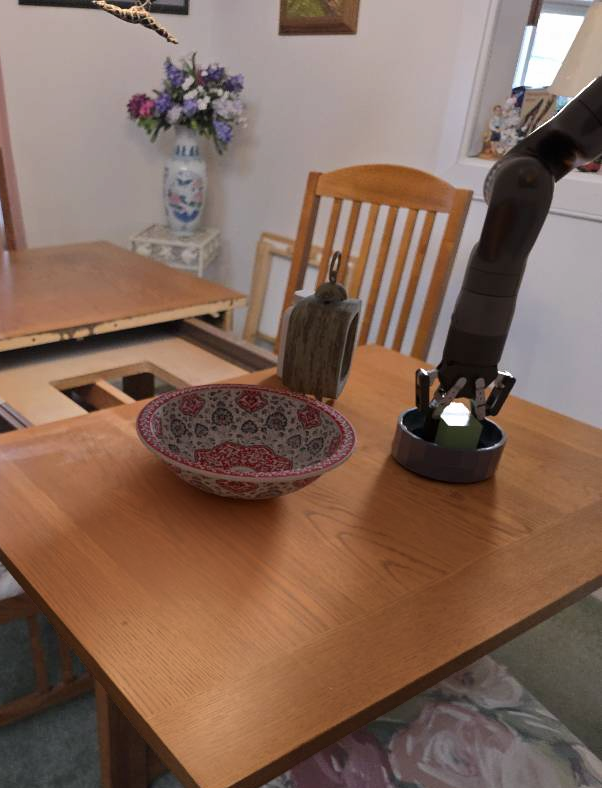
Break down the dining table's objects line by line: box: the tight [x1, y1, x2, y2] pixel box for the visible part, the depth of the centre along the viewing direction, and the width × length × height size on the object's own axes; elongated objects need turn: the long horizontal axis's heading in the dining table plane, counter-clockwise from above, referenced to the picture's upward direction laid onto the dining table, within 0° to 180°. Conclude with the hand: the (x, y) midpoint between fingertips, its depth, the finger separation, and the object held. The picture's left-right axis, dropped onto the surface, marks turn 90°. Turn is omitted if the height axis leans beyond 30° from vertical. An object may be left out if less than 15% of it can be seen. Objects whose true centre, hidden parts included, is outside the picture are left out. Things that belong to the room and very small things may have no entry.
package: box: [422, 401, 483, 449], centre depth 102 cm, size 5×8×4 cm, turn 4°
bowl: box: [390, 406, 508, 483], centre depth 104 cm, size 15×15×6 cm
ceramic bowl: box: [135, 383, 357, 500], centre depth 95 cm, size 29×29×8 cm
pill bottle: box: [276, 289, 316, 379], centre depth 127 cm, size 8×8×15 cm
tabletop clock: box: [281, 250, 363, 403], centre depth 112 cm, size 14×9×25 cm, turn 160°
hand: (448, 439), depth 103 cm, fingers closed on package, 5 cm apart
